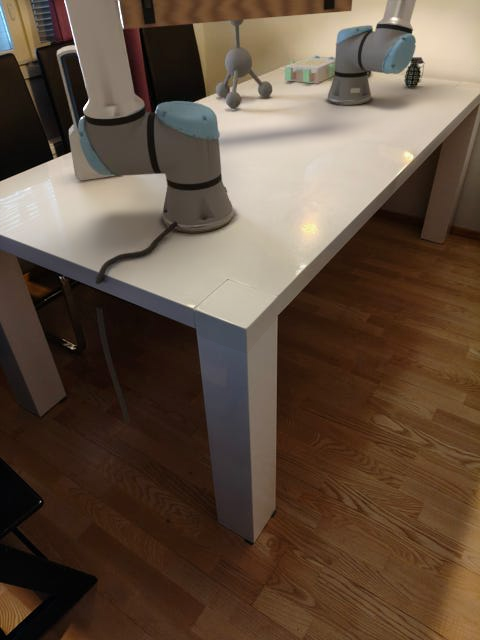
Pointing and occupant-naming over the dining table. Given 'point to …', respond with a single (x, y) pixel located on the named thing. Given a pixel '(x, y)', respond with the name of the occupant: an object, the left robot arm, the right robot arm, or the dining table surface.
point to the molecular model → (239, 72)
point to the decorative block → (311, 70)
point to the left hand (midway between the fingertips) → (148, 21)
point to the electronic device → (75, 121)
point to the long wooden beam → (220, 10)
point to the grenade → (413, 72)
